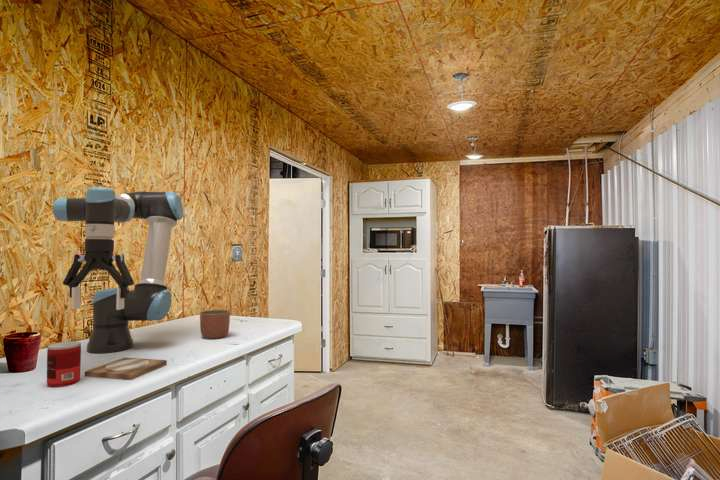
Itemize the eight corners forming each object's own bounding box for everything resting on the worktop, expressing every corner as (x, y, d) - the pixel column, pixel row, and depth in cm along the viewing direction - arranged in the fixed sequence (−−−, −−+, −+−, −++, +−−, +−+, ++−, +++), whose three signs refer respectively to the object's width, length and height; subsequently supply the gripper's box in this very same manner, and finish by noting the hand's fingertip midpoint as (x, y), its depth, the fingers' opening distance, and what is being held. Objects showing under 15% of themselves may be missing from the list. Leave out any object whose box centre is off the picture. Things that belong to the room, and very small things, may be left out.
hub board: (84, 376, 123) (84, 370, 123) (124, 361, 139) (124, 356, 139) (131, 379, 120) (131, 373, 120) (166, 364, 136) (166, 358, 136)
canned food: (86, 378, 121) (87, 341, 122) (67, 387, 113) (68, 347, 114) (59, 378, 121) (60, 341, 121) (39, 387, 113) (40, 347, 113)
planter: (230, 338, 175) (231, 313, 175) (199, 341, 170) (200, 314, 170) (228, 333, 186) (229, 309, 186) (199, 335, 182) (199, 310, 182)
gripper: (49, 238, 121) (47, 310, 120) (133, 238, 120) (131, 311, 119) (68, 239, 128) (66, 307, 127) (147, 239, 127) (145, 307, 127)
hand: (98, 309), depth 123 cm, fingers open, 13 cm apart
